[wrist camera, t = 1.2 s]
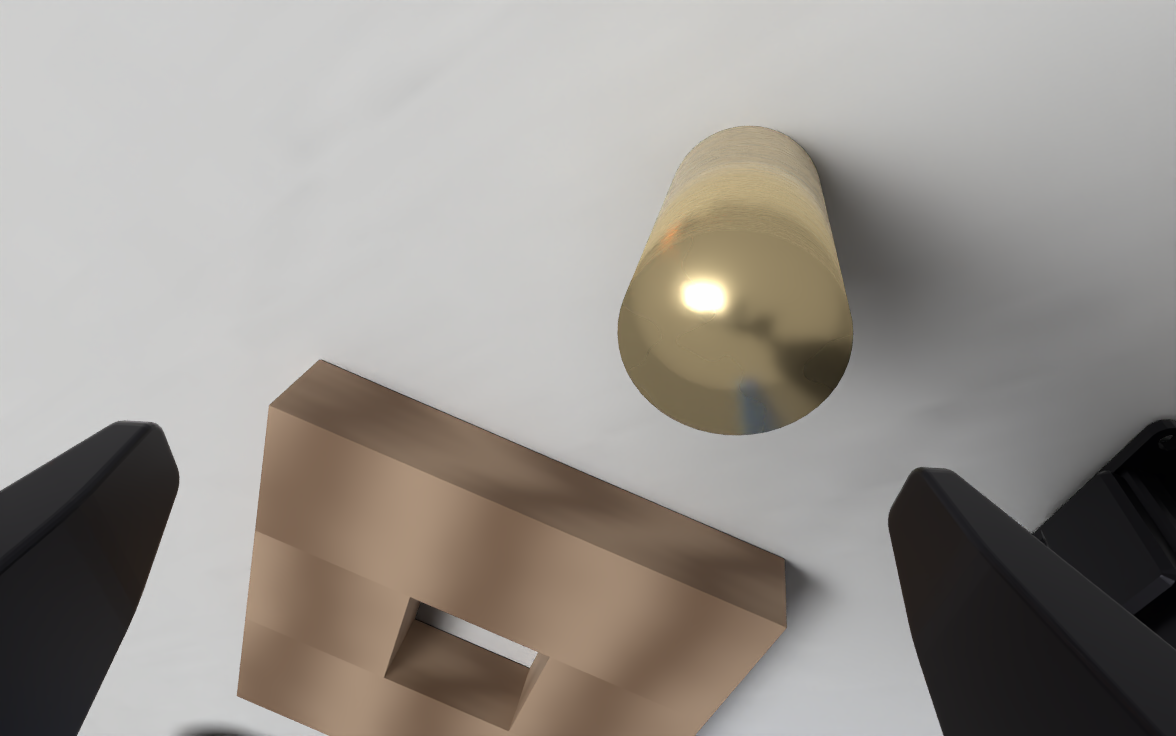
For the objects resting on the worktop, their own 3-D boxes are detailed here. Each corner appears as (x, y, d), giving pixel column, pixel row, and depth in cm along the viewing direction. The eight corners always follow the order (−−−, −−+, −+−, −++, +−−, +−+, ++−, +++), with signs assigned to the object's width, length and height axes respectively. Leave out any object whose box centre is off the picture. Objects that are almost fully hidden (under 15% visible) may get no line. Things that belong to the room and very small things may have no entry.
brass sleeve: (851, 163, 18) (902, 290, 11) (776, 293, 20) (781, 466, 13) (706, 101, 18) (670, 190, 11) (647, 238, 20) (586, 383, 13)
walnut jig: (784, 559, 25) (786, 627, 22) (608, 785, 35) (596, 850, 32) (319, 359, 25) (269, 405, 22) (275, 641, 35) (236, 695, 32)
